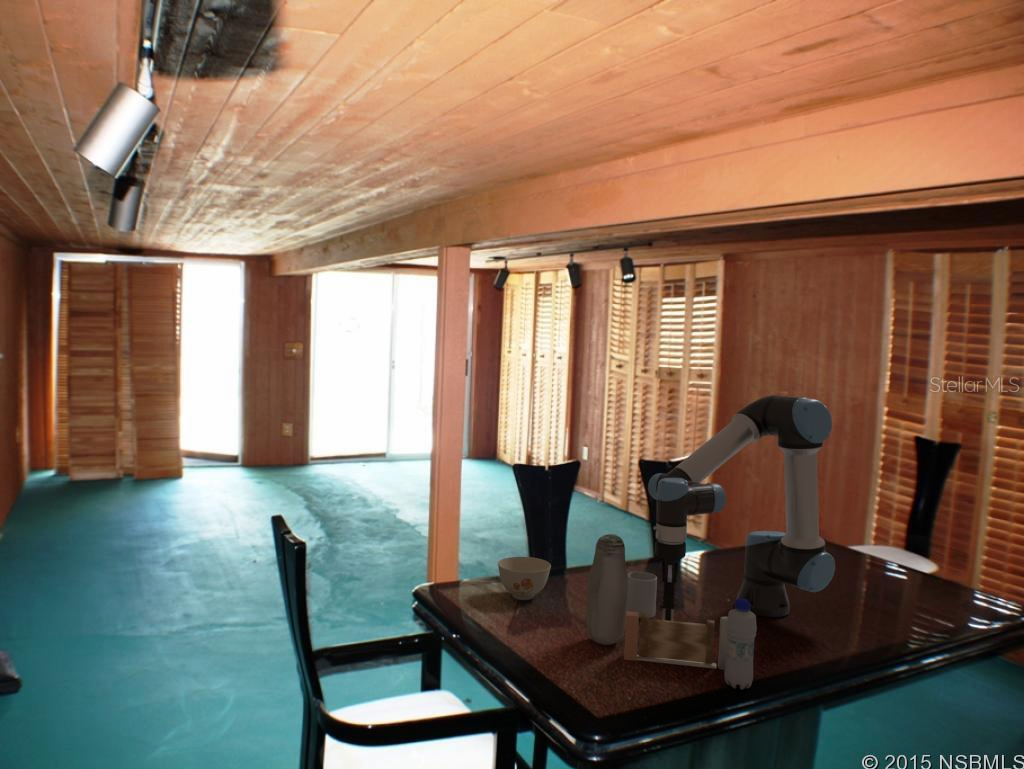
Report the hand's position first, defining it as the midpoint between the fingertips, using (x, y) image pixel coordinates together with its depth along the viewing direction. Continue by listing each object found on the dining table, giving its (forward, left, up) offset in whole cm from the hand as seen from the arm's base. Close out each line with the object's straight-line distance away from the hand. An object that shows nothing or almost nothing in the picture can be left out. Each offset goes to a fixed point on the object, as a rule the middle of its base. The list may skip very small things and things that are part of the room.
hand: (667, 632), depth 190 cm
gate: (-2, +7, -4) cm, 8 cm away
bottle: (-16, +16, -5) cm, 23 cm away
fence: (-2, +7, -5) cm, 9 cm away
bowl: (+41, -30, -5) cm, 51 cm away
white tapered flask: (+15, -1, -5) cm, 16 cm away
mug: (+7, -27, -5) cm, 29 cm away
